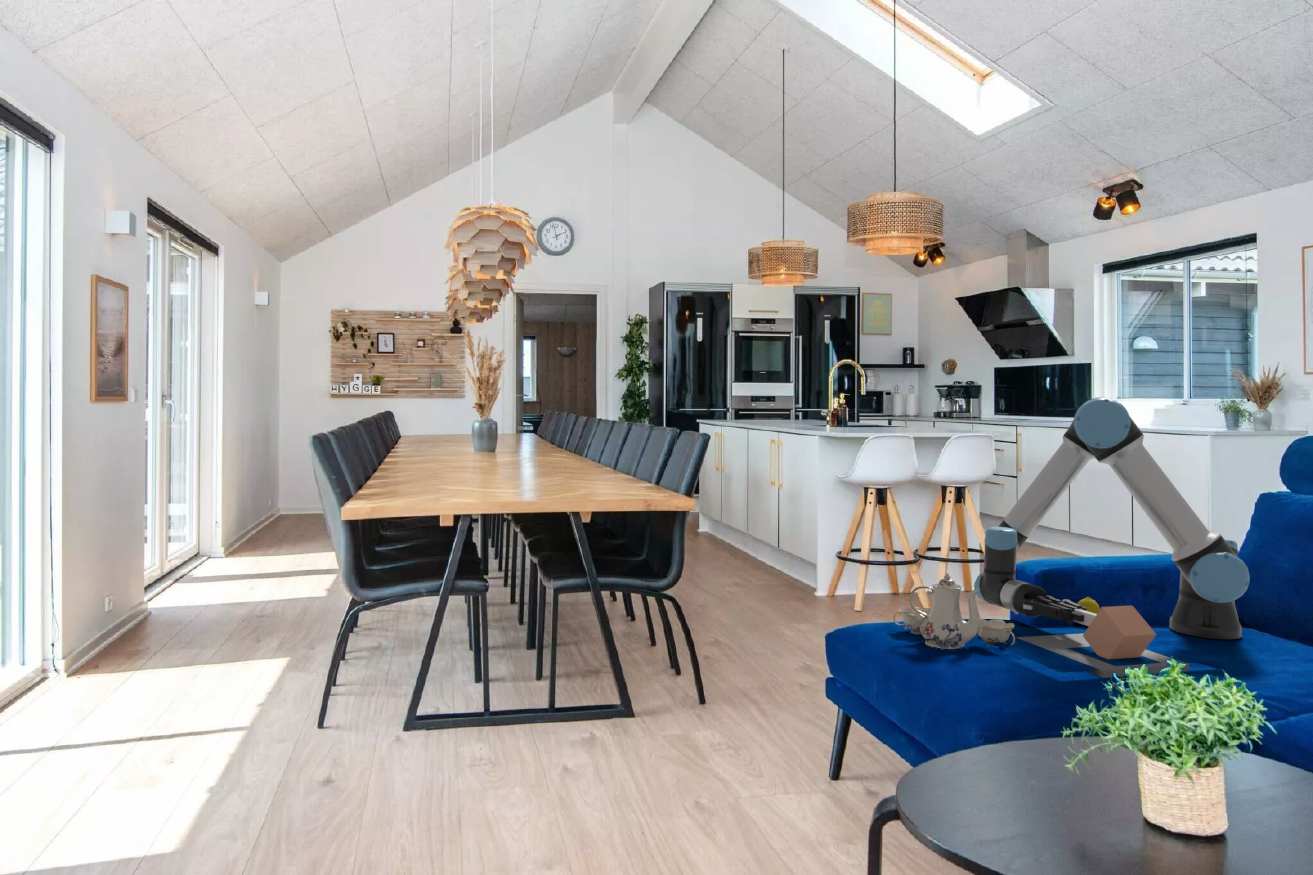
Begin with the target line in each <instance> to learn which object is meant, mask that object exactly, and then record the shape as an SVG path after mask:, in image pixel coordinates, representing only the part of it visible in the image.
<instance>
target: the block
mask: <svg viewBox="0 0 1313 875" xmlns="http://www.w3.org/2000/svg"><path fill="white" fill-rule="evenodd" d="M1083 633H1084V635H1083V637H1084V638H1085V640H1086V641H1087V642H1088V644H1089V645H1090V646H1091V649H1092V650H1093V652H1094V653H1095V654H1096V655H1097V656H1099V657H1101V658H1104V659H1107V660H1118V659H1121V660H1122V659H1133V658H1135V659H1136V658H1140V657H1142V656H1141V654H1142V653H1143V652H1144V650H1145V649H1146V650H1147V648H1148V646H1149V645H1150V644H1151V642H1152V641H1153V640H1154V638H1156V636H1157V633H1156V632H1155V631H1154V630H1153V628H1152V627H1151V626H1150V625H1149V623H1148V622H1147V621H1146V620H1145V618H1143V616H1142V615H1141V614H1140V613H1139V611H1138V610H1137V609H1136V608H1135V607H1134V606H1133V605H1115V606H1101V607H1100V611H1099V612H1098V614H1097V615H1096V617H1095V618H1094V620H1093V621H1092V623H1091V624H1090V626H1087V629H1086V630H1085V631H1084V632H1083Z"/></svg>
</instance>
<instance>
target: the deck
mask: <svg viewBox="0 0 1313 875" xmlns="http://www.w3.org/2000/svg"><path fill="white" fill-rule="evenodd" d="M1084 633H1085V632H1083V633H1069V634H1068V633H1067V634H1052V635H1051V634H1049V635H1047V634H1046V635H1033V636H1020V637H1019V636H1016V637H1015V639H1016V638H1017V639H1018V640H1021V641H1023V642H1025V643H1029V644H1031V645H1033V646H1037V647H1039V648H1042V649H1044V650H1047V651H1050V652H1053V653H1055V654H1058V655H1060V656H1063V657H1066V658H1068V659H1071V660H1073V661H1077V662H1079V663H1082V664H1084V665H1086V666H1090V667H1092V668H1094V669H1088V670H1087V669H1085V670H1083V671H1084V672H1086V673H1089V674H1091V673H1092V674H1091V675H1094V676H1097V677H1098V678H1102V679H1105V678H1108V679H1109V678H1113V677H1112V673H1116V674H1117V675H1118V676H1119V677H1126V676H1125V667H1130V668H1139V667H1140V666H1141V665H1142V664H1143V663H1141V664H1129V665H1128V664H1127V665H1113V664H1110V663H1108V662H1105V661H1102V660H1100V659H1097V658H1095V657H1092V656H1089V655H1086V654H1084V653H1082V652H1081V653H1080V652H1077V651H1076V650H1072V649H1073V648H1074V649H1075V648H1086V647H1087V648H1088V647H1091V646H1090V645H1089V644H1088V642H1087V641H1086V640H1085V638H1084V637H1083V635H1084ZM1140 657H1144V658H1146V659H1149V660H1152V661H1155V663H1152V662H1151V663H1147V664H1148V669H1149V672H1150V673H1152V674H1151V675H1156V674H1157V675H1158V674H1159V675H1160V673H1159V672H1160V671H1161V670H1162V669H1164V668H1167V659H1170V658H1171V657H1169V656H1166V655H1164V654H1160V653H1157V652H1154V651H1152V650H1148V649H1147V648H1146V649H1145V650H1144V652H1143V653H1142V654H1141V656H1140ZM1176 660H1177V661H1179V662H1180V663H1183V664H1186V666H1185V667H1184V668H1183V673H1184V672H1189V671H1190V669H1189V668H1190V663H1188V662H1185V661H1182V660H1178V659H1176ZM1123 673H1124V674H1123Z"/></svg>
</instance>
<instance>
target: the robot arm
mask: <svg viewBox="0 0 1313 875" xmlns="http://www.w3.org/2000/svg"><path fill="white" fill-rule="evenodd" d="M1144 438H1145V435H1144V433H1143V431H1142V430H1141V429H1140V428H1139V427H1138V425H1137V423H1136V422H1134V420H1133V419H1132V418H1131V416H1130V413H1129V411H1128V410H1127V408H1126V407H1125V406H1124V405H1123V404H1122V403H1121V402H1120V401H1118V400H1115V399H1113V398H1109V397H1100V396H1099V397H1094V398H1091V399H1089V400H1087V401H1085V402H1084V403H1083V404H1081V405H1080V406H1079V407H1078V409H1077V410H1076V411H1075V414H1074V417H1073V420H1072V421H1071V423H1070V425H1069V427H1068V428H1067V430H1066V431H1065V433H1063V435H1062V443H1061V445H1060V446H1058V448H1057V450H1056V451H1055V452H1054V454H1053V455H1052V456H1051V457H1050V459H1049V460H1048V461H1047V462H1046V464H1045V465H1044V467H1043V468H1042V470H1040V471H1039V473H1038V474H1037V476H1036V477H1035V478H1034V479H1033V481H1032V482H1031V483H1030V485H1029V486H1028V487H1027V488H1026V490H1025V491H1024V492H1023V494H1022V495H1021V496H1020V497H1019V499H1018V500H1017V501H1016V503H1015V504H1014V505H1013V507H1012V508H1011V509H1010V510H1009V512H1008V513H1007V514H1006V515H1005V517H1004V518H1003V520H1002V522H1000V524H998V526H990V527H988V528H986V530H985V537H984V541H983V542H984V561H983V562H984V564H983V565H984V567H983V571H982V572H981V573H980V574H978V575H977V577H976V579H975V581H974V583H973V590H974V589H979V591H978V592H977V594H976V597H978V598H979V599H980V600H982V601H984V602H986V603H988V604H990V605H994V606H996V607H997V606H998V607H1000V608H1004V609H1006V610H1010V611H1012V612H1013V613H1014V614H1015V615H1018V614H1021V615H1023V616H1027V617H1030V618H1037V617H1040V616H1042V617H1047V618H1049V619H1054V620H1058V621H1064V620H1065V621H1066V624H1068V625H1072V624H1073V622H1074V623H1078V624H1079V623H1080V624H1079V625H1082V624H1083V626H1087V627H1089V626H1090V624H1091V623H1092V621H1093V620H1094V618H1095V617H1096V615H1097V614H1094V613H1091V612H1088V611H1087V608H1085V607H1083V606H1082V605H1078V603H1076V602H1073V601H1071V600H1070V599H1068V598H1064V599H1062V600H1061V599H1059V598H1055V597H1054V596H1051V595H1048V594H1047V592H1046V591H1045V589H1044V588H1042V587H1041V586H1039V585H1035V584H1031V583H1029V582H1026V581H1022V580H1018V579H1016V572H1017V571H1016V567H1017V553H1018V551H1019V550H1020V549H1021V547H1022V546H1023V545H1024V543H1025V542H1026V541H1027V540H1028V538H1029V537H1030V536H1031V535H1032V533H1033V532H1034V530H1035V529H1036V528H1037V527H1038V526H1039V524H1041V522H1042V520H1044V518H1045V516H1046V515H1047V514H1048V513H1049V512H1050V511H1051V509H1052V508H1053V506H1055V504H1056V503H1057V502H1058V500H1059V499H1060V498H1061V496H1062V495H1063V494H1064V493H1065V492H1066V491H1067V489H1068V488H1069V487H1070V485H1071V484H1072V483H1073V482H1074V480H1075V479H1076V478H1077V477H1078V475H1080V473H1081V471H1082V470H1083V469H1084V467H1085V466H1086V465H1087V464H1088V462H1090V460H1094V459H1096V461H1097V462H1098V463H1100V464H1105V465H1108V466H1109V467H1110V468H1111V469H1112V471H1113V472H1114V473H1115V475H1116V476H1117V477H1118V479H1119V480H1120V481H1121V483H1122V484H1123V485H1124V487H1125V488H1126V489H1127V491H1128V492H1129V493H1130V495H1131V496H1132V497H1133V498H1134V500H1135V501H1136V502H1137V504H1138V505H1139V506H1140V508H1141V509H1142V510H1143V512H1144V513H1145V515H1146V516H1147V517H1148V518H1149V520H1150V521H1151V522H1152V524H1153V525H1154V526H1155V528H1156V529H1157V530H1158V531H1159V533H1160V534H1161V536H1162V537H1163V538H1164V540H1165V541H1166V542H1167V543H1168V545H1169V546H1170V547H1171V549H1172V555H1171V560H1172V561H1173V563H1174V565H1175V566H1176V567H1177V568H1178V570H1179V571H1180V574H1179V575H1180V576H1179V577H1180V578H1179V595H1178V599H1177V602H1176V605H1175V606H1174V609H1173V612H1172V615H1171V616H1170V618H1169V626H1168V627H1169V629H1170V630H1172V631H1174V632H1176V633H1180V634H1183V635H1188V636H1193V637H1197V638H1204V639H1210V640H1211V639H1212V640H1237V639H1240V638H1242V632H1243V628H1242V625H1241V623H1240V621H1239V616H1238V612H1237V608H1236V603H1235V600H1238V599H1239V598H1240V597H1242V596H1243V595H1244V594H1245V592H1246V591H1247V590H1248V588H1249V586H1250V579H1251V577H1250V576H1251V575H1250V570H1249V568H1248V566H1247V564H1246V563H1245V561H1244V560H1243V559H1241V558H1239V556H1238V553H1239V550H1238V549H1239V548H1238V543H1237V541H1235V540H1232V539H1225V538H1224V537H1223V535H1222V534H1221V533H1220V532H1217V531H1211V530H1209V529H1208V528H1207V527H1206V525H1205V524H1204V523H1203V521H1202V520H1201V519H1200V517H1199V516H1198V515H1197V514H1196V512H1195V511H1194V509H1192V507H1191V506H1190V504H1189V503H1188V502H1187V501H1186V499H1185V498H1184V497H1183V496H1182V494H1181V493H1180V491H1179V490H1178V489H1177V487H1175V485H1174V484H1173V483H1172V481H1171V479H1170V478H1169V477H1168V475H1167V474H1166V473H1165V472H1164V470H1162V467H1161V466H1159V464H1158V463H1157V462H1156V460H1155V459H1154V458H1153V456H1152V455H1151V454H1150V452H1149V451H1148V450H1147V448H1146V446H1145V445H1144V444H1143V442H1144Z"/></svg>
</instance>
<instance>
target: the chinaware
mask: <svg viewBox="0 0 1313 875" xmlns="http://www.w3.org/2000/svg"><path fill="white" fill-rule="evenodd" d="M931 586H932V587H930V586H927V585H920V586H917V587H915V588H913V589H912V591H911V592H910V594H909V597H908V598H909V599H908V600H909V604H910V606H907V607H906V608H903V607H900V608H899V611H897V612H896V613H894V615H893V622H894V623H895V624H896V625H898V626H905V627H904V630H908V629H909V630H911V631H910V632H909V633H910V634H914V635H922V637H923V638H924V640H925V642H924V644H925V645H926V646H928V647H930V646H931V647H930V648H933V647H937V648H941V649H940V650H944V649H956V648H960V647H963V646H964V647H965V644H967V643H968V642H969V641H971V640H972V639H973V638H974V637H976V636H977V635H978V636H979V638H980V639H981V640H982V642H984V643H986V644H988V645H989V646H998V645H997V644H994V643H1003V644H1008V643H1007V641H1008V639H1009V638H1010V635H1011V636H1012V642H1011V644H1010V646H1013V645H1014V644H1015V642H1016V637H1015V634H1014V633H1013V632H1012V630H1013V629H1014V628H1015V623H1012V622H1009V623H1006V622H1005V621H1004V620H1002V619H998V618H995V619H994V618H993V619H990V620H987V619H984V618H981V617H980V616H981V615H980V612H979V608H978V605H977V602H976V597H977V595H976V594H977V592H978V591H979V589H974V588H973V590H971V591H970V592H969V593H968V598H967V599H968V600H967V602H968V604H967V605H968V617H969V618H968V621H966V620H964V619H963V617H962V614H961V613H962V612H961V609H960V594H961V591H962V588H963V586H962V585H960V584H956V582H955V580H953V579H952V576H950V574H949V573H947V572H946V574H944V576H943V578H941V579H939V581H938V582H934V583H931ZM920 589H921V590H922V589H928V590H927V591H926V595H928V596H931V595H932V594H933V601H932V602H933V603H932V606H931V608H929V607H927V608H922V609H921V608H919V607H918V606H915V605H914V602H913V596H914V593H916V591H918V590H920ZM897 614H899V616H902V621H903V623H898V622H897V621H896V615H897ZM937 648H936V649H937Z"/></svg>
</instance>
